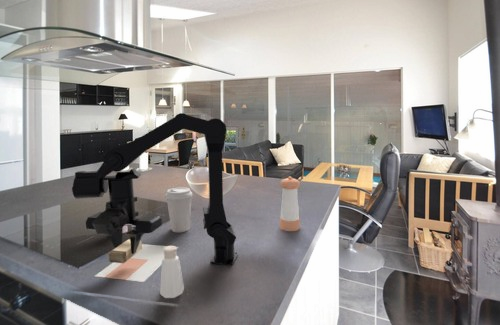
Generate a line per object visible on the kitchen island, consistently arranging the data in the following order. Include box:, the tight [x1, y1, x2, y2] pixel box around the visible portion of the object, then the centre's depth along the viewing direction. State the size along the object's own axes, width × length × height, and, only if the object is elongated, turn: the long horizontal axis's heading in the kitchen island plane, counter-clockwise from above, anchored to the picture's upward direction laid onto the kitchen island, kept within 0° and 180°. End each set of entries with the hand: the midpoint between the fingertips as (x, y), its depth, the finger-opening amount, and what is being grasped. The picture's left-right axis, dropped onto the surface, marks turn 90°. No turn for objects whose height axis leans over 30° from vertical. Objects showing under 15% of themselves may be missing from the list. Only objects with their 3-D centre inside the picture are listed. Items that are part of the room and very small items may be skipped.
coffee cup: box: [164, 186, 194, 233], centre depth 99 cm, size 10×10×15 cm
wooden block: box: [108, 238, 143, 263], centre depth 73 cm, size 8×4×2 cm, turn 168°
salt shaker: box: [279, 175, 301, 232], centre depth 100 cm, size 7×7×19 cm
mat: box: [94, 243, 180, 283], centre depth 78 cm, size 19×14×1 cm
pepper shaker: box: [159, 245, 185, 299], centre depth 62 cm, size 5×5×11 cm
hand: (126, 252), depth 73 cm, fingers closed on wooden block, 4 cm apart
